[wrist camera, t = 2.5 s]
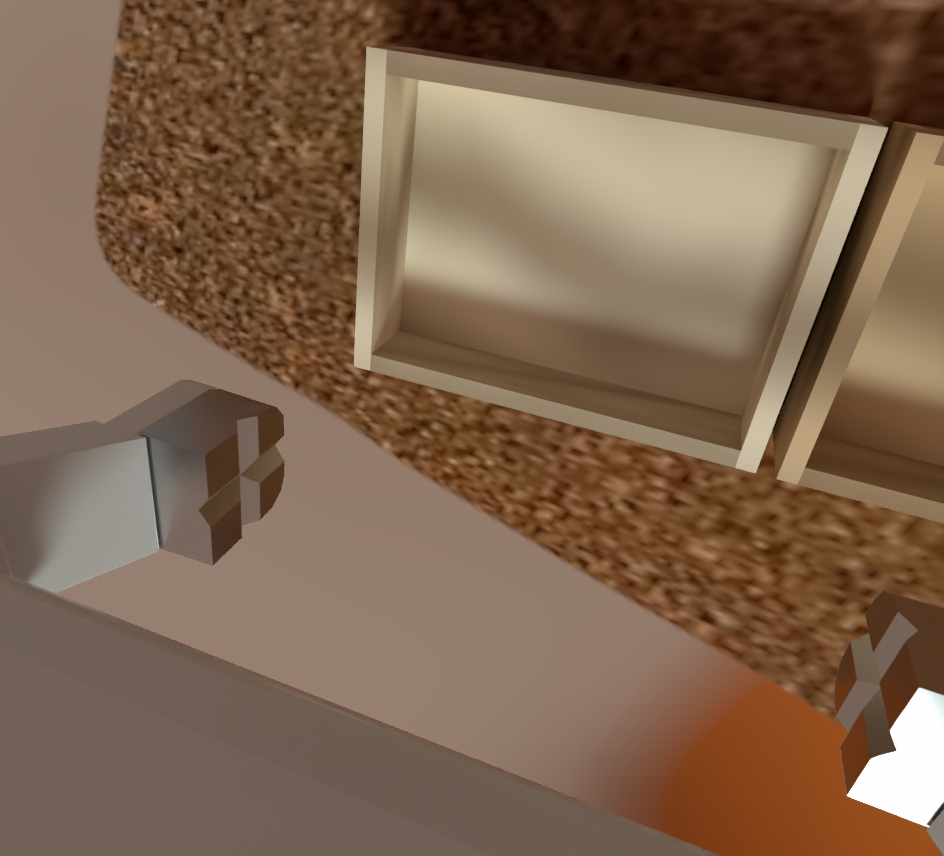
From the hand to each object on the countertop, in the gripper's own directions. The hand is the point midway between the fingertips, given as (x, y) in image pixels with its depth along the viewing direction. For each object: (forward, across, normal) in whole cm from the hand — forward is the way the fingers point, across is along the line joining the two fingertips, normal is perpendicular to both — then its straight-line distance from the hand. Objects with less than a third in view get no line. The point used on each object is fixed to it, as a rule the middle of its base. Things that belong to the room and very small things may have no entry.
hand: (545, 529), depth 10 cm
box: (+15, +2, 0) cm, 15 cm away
